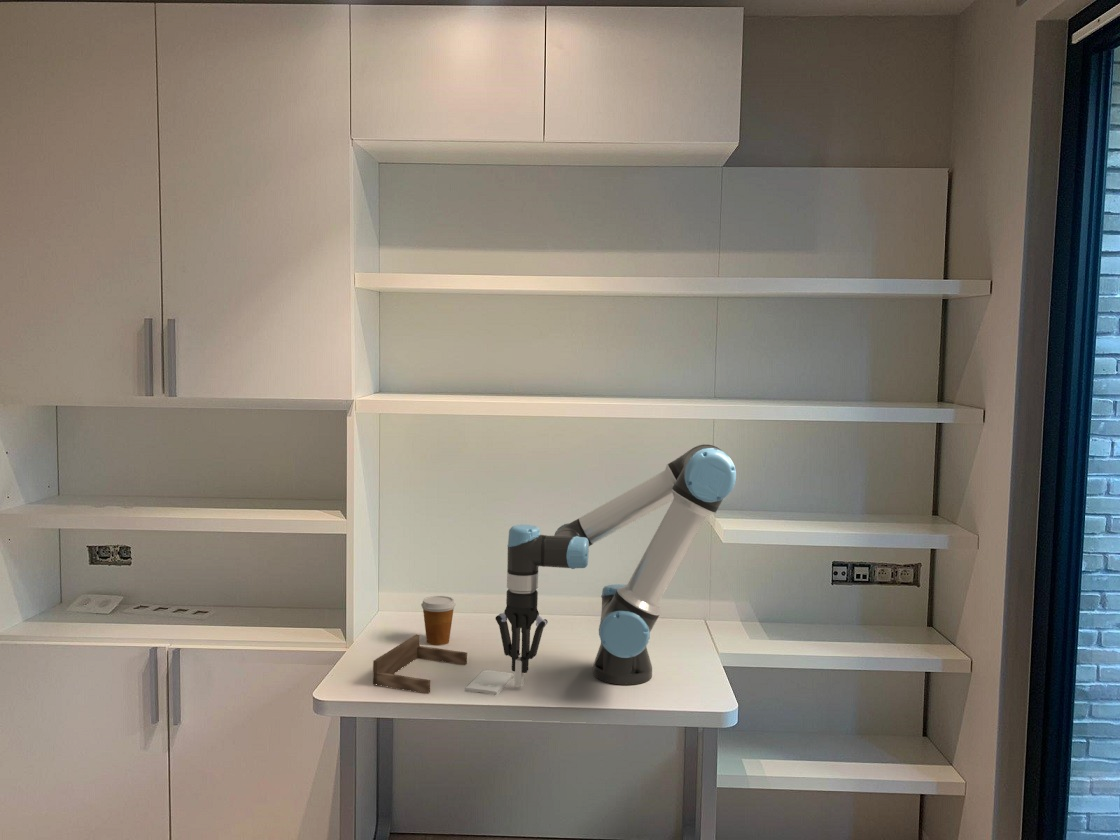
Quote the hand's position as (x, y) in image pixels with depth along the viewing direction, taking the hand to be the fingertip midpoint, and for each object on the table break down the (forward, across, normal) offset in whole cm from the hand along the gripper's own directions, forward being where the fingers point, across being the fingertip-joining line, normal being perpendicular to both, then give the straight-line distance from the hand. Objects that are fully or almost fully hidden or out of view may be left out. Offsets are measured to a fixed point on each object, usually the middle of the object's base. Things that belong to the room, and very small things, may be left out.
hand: (519, 684), depth 211 cm
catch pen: (+1, +26, 0) cm, 26 cm away
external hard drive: (+2, +8, 0) cm, 8 cm away
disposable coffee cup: (+2, +34, -24) cm, 42 cm away
